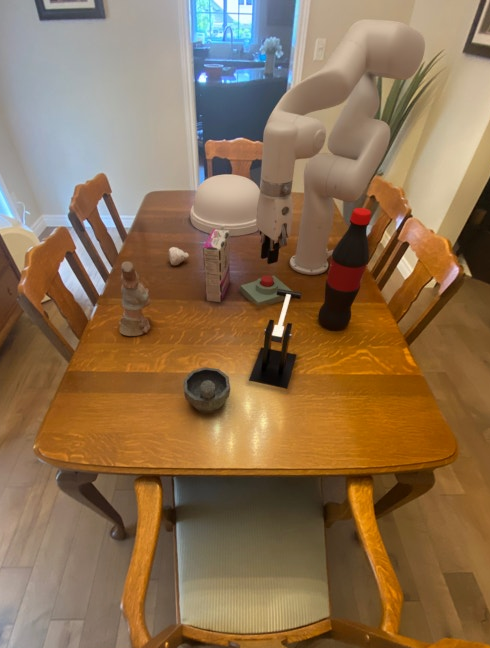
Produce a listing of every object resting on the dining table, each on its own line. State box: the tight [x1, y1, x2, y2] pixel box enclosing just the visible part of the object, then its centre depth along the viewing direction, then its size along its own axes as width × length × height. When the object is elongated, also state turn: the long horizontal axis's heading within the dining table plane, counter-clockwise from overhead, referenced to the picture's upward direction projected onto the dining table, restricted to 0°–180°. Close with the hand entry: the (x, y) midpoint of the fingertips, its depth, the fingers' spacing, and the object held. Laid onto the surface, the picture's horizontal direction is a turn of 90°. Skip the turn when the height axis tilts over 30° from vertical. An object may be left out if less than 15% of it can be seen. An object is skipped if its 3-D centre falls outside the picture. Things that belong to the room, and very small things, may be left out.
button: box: [260, 275, 274, 287], centre depth 105 cm, size 4×4×2 cm
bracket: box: [248, 319, 298, 390], centre depth 83 cm, size 12×9×13 cm
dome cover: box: [190, 173, 260, 237], centre depth 138 cm, size 32×30×14 cm
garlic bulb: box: [168, 246, 190, 267], centre depth 118 cm, size 6×6×5 cm
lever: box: [272, 289, 303, 344], centre depth 81 cm, size 13×6×2 cm, turn 164°
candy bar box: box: [202, 229, 231, 304], centre depth 103 cm, size 11×5×16 cm, turn 168°
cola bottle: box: [317, 207, 372, 332], centre depth 88 cm, size 8×8×30 cm
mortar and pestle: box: [183, 366, 231, 414], centre depth 75 cm, size 11×9×12 cm
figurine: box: [118, 260, 152, 337], centre depth 90 cm, size 9×8×20 cm
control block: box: [239, 275, 293, 307], centre depth 107 cm, size 12×10×4 cm
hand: (269, 259), depth 100 cm, fingers closed
